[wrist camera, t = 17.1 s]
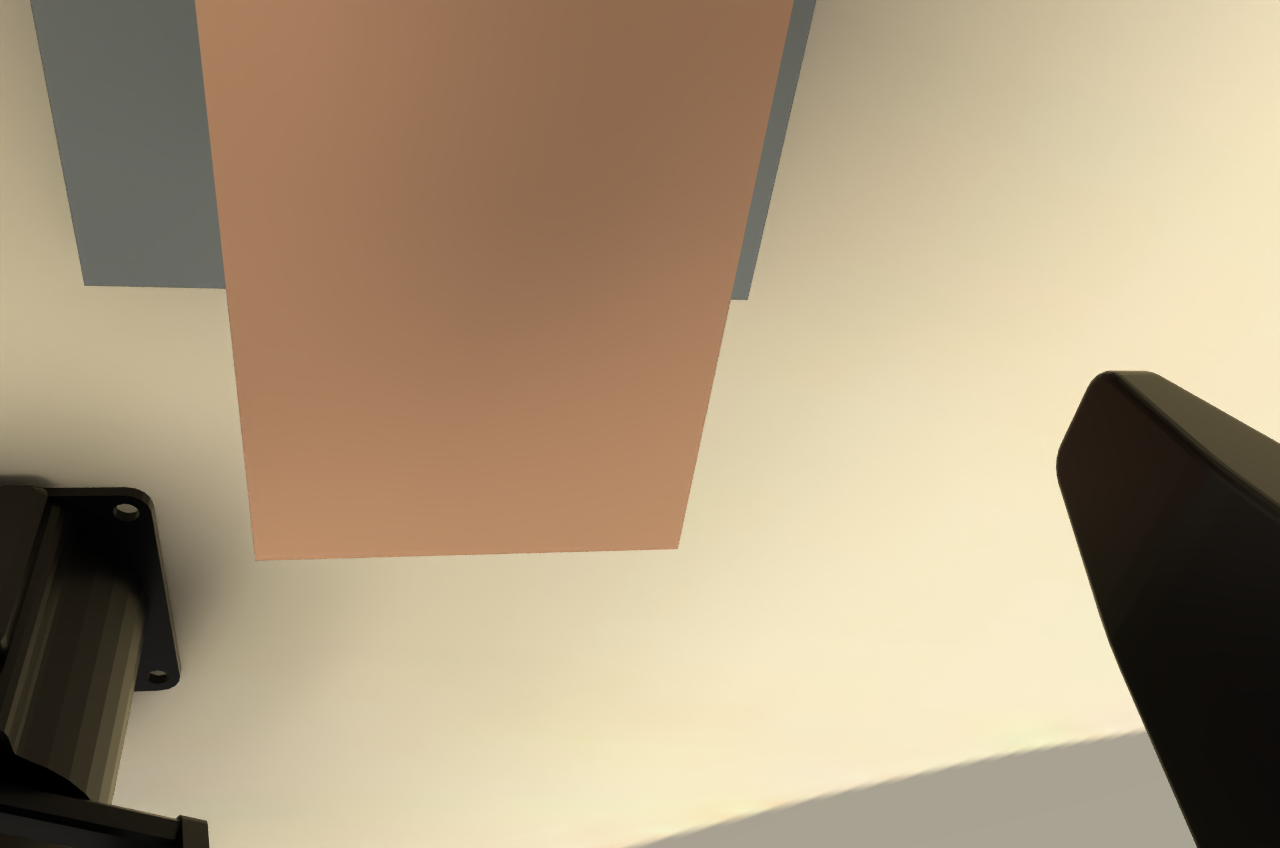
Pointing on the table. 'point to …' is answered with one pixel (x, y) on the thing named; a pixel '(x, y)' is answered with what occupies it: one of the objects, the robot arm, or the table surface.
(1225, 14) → the table surface
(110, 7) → the baseplate
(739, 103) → the terracotta brick
